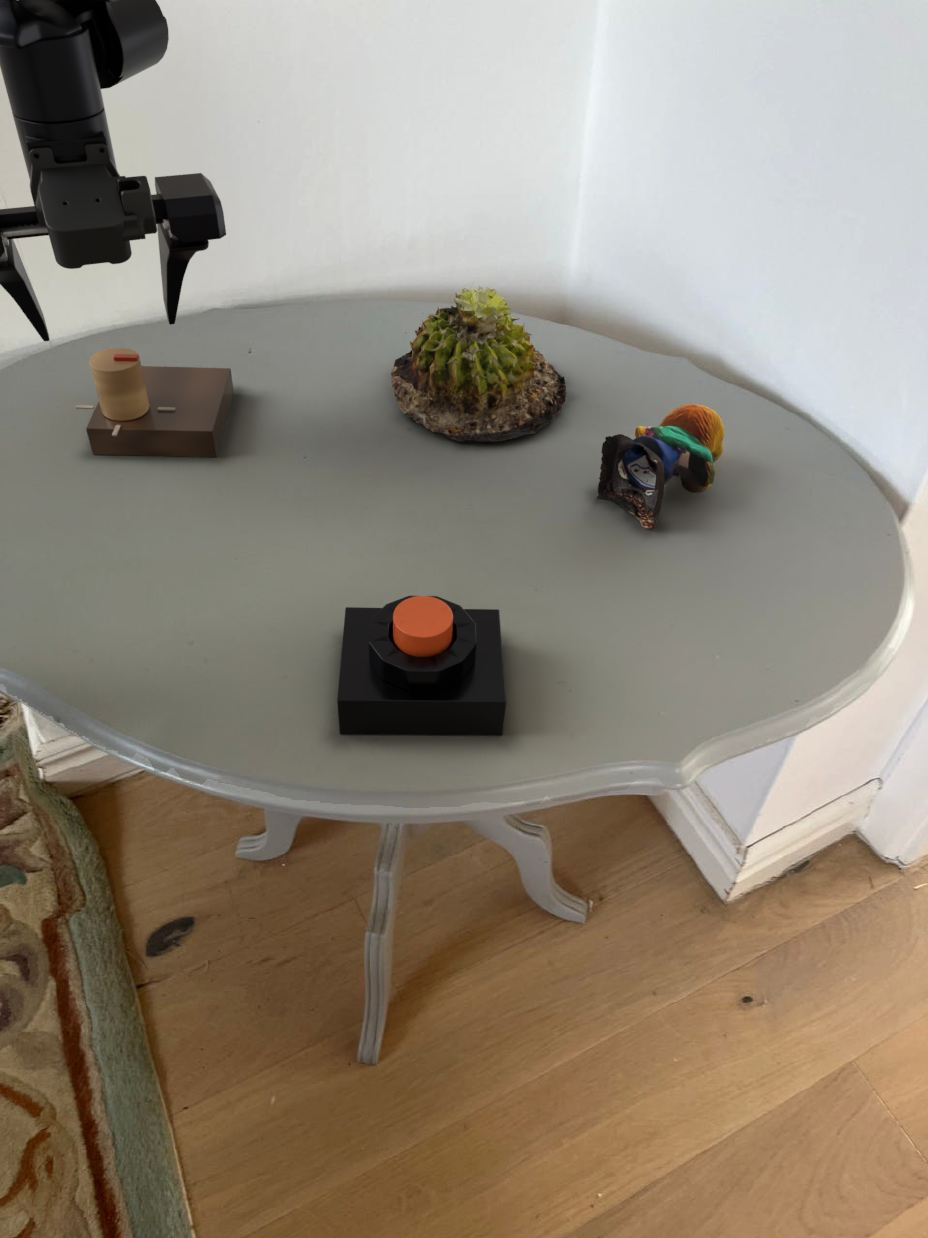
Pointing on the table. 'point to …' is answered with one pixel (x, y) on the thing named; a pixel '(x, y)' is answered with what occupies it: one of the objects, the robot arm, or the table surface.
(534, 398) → the cactus
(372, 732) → the button box
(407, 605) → the button
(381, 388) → the table surface
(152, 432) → the panel
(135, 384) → the knob
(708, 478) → the figurine
